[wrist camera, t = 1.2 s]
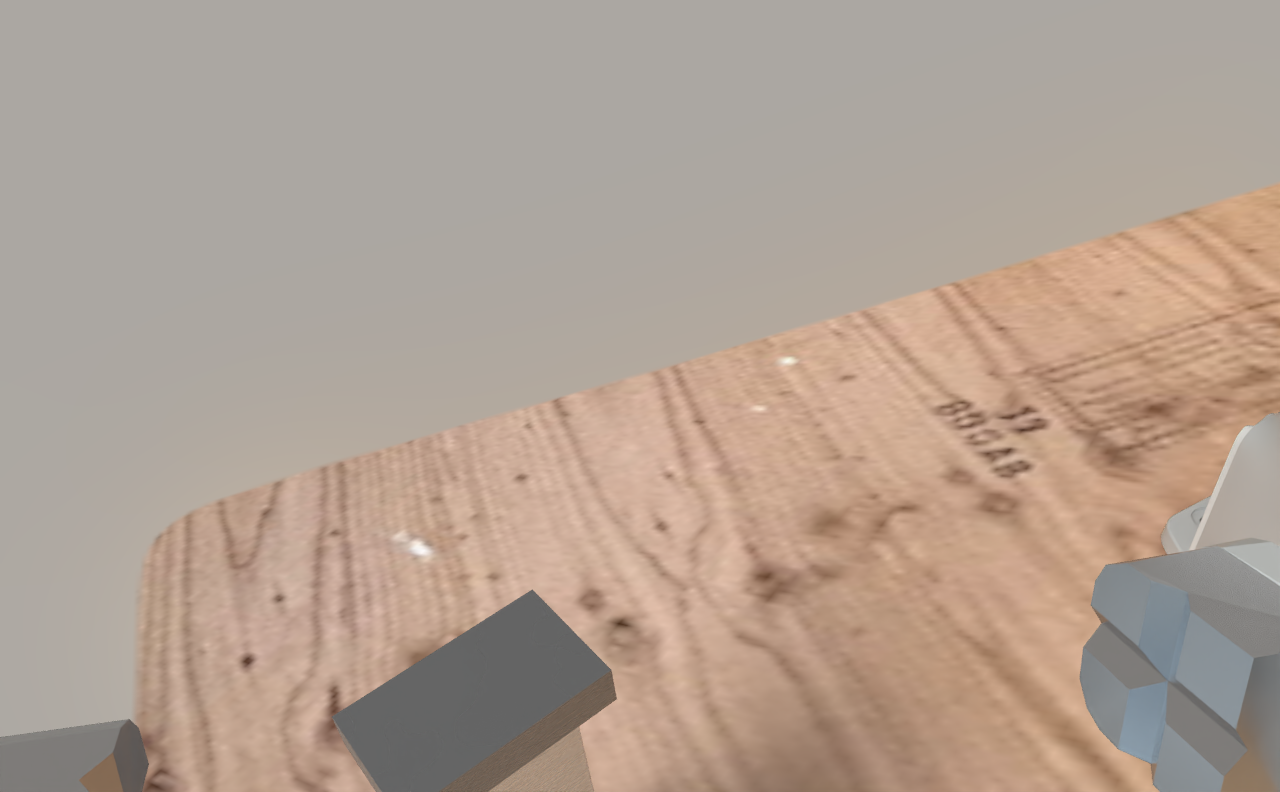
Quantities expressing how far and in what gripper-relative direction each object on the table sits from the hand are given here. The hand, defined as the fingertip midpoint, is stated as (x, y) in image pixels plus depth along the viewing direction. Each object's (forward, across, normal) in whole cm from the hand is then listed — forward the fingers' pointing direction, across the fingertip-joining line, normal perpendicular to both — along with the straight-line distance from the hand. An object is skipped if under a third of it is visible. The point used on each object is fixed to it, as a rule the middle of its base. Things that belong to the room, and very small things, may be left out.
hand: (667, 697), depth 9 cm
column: (+16, -2, +27) cm, 32 cm away
